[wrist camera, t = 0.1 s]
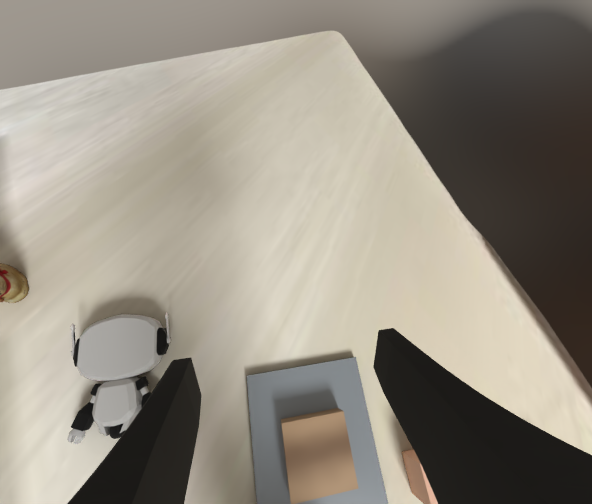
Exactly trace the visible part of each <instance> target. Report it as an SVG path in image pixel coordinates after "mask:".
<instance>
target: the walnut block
mask: <svg viewBox="0 0 592 504" xmlns="http://www.w3.org/2000/svg"><path fill="white" fill-rule="evenodd" d="M281 426H282V434H283V443H284V451H285V460H286V468H287V477H288V486H289V494H290V501H291V504H296V503H301V502H305V501H309V500H313V499H317V498H321V497H325V496H330V495H334V494H338V493H342V492H346V491H350V490H354V489H359V488H358V483H357V478H356V473H355V468H354V462H353V457H352V452H351V447H350V442H349V437H348V431H347V426H346V421H345V416H344V411H343V410H341V409H339V408H335V409H330V410H325V411H320V412H315V413H310V414H305V415H299V416H294V417H289V418H284V419H281Z"/></svg>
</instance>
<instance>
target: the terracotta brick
mask: <svg viewBox="0 0 592 504" xmlns="http://www.w3.org/2000/svg"><path fill="white" fill-rule="evenodd" d="M402 455H403V459H404V463H405V467H406V471H407V475H408V479H409V483H410V487H411V491H412V493H413V494H414V495H415V496H416V497H417V498H418V499H419V500H421V501H422V502H423V503H424V504H438V502H437V500H436V497H435V495H434V493H433V490H432V488H431V486H430V484H429V481H428V479H427V477H426V474H425V472H424V470H423V467H422V465H421V463H420V461H419V459H418V457H417V455H416V453H415V451H414V449H412V450H408V451H404V452H402Z"/></svg>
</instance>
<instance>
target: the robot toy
mask: <svg viewBox="0 0 592 504" xmlns="http://www.w3.org/2000/svg"><path fill="white" fill-rule="evenodd" d="M165 318H166V325H167V330H166V328H163V327H162V325H161V323H160V321H158V320H156V319H154V318H151V317H147V316H142V315H129V314H120V315H116V316H113V317H109V318H105V319H102V320H100V321H97V322H95V323H93V324H91V325H90V326H89V327H87V328H86V329H85V330H84V332H83V333H82V335H81V336H80V338H79V339H78V340H77V342H76V345H75V325H74V324H73V323H72V325H71V330H72V346H73V351H71V352H72V356H73V360H74V364H75V366H76V367H77V368H78V370H79V372H80V374H81V375H82V376H84V377H86V378H87V379H91V380H97V381H108V382H104V383H103V384H95V385H94V387H93V389H92V391H91V394H92V395H93V396H92V398H91V400H90V402H89V403H88V404H87V405H85V406H84V407H83V408H82V409H81V410H80V411H79V412H78V414H77V416H76V418H75V420H74V422H73V424H72V426H71V427H72V428H73V430H72V431H71V432H70V433H69V436H68V439H67V440H68V441H69V442H73V441H74V439H75V437H76V436H77V437H76V439H75V441H74V444H78V443H80V442H81V441H82V440H83V438H84V437H85V430H88V429H89V428H90V427H91V425H92V423H93V421H95V422H96V423H97V425H98V428H99V431H100V433H101V434H103V435H106V436H107V435H109V434H110V436H111V437H112V438H114V439H116V438H120V437H121V436H122V435H123V434H124V432H125V431H126V429H127V428H128V427H129V426H130V424H131V423H132V421H133V420H134V418H135V417H136V416H137V414H138V413H139V411H140V410H141V408H142V407H143V405H144V404H145V402H146V401H147V400H148V398H149V397H150V395H151V393H150V392H149V391H148V389H147V387H146V386H148V384H149V383H148V381H147V379H146V377H143V378H141V379H139V378H138V377H134V376H137V375H140V374H143V373H145V372H147V371H149V370H151V369H153V368H154V367H155V366H156V365H157V364H159V363H160V360H161V358H162V355H164V354H166V351H167V349H168V346H169V343H170V342H171V337H170V335H169V323H168V318H169V317H168V313H167V312H166V314H165Z"/></svg>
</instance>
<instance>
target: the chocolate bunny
mask: <svg viewBox="0 0 592 504" xmlns="http://www.w3.org/2000/svg"><path fill="white" fill-rule="evenodd" d="M28 291H29V287H28V285H27V279H26V277H25V276H24V275H23V274H21V272H19V271H18V270H16V269H15V268H13V267H11V266H9V265H5V264H1V263H0V302H3V301H5V302H8V303H16V302H19V301H21V300H22V299H24V298H25V297H26V296H27V294H28Z"/></svg>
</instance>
